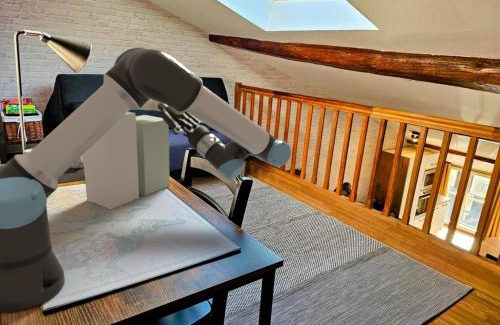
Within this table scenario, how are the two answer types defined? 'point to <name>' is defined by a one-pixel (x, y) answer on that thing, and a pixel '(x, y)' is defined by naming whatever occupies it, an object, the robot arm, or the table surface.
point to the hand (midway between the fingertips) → (158, 98)
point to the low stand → (152, 154)
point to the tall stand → (113, 165)
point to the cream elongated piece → (150, 106)
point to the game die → (78, 163)
